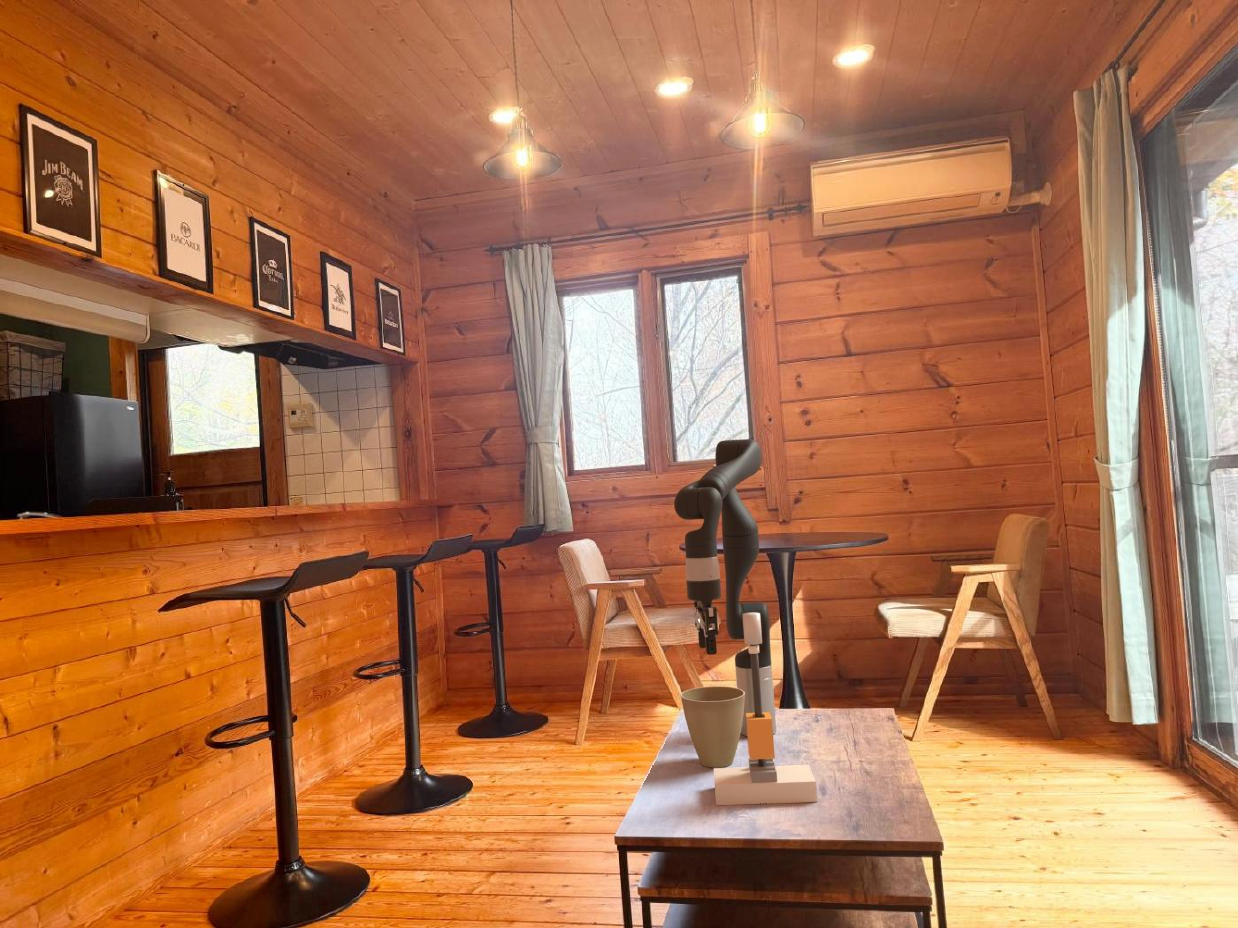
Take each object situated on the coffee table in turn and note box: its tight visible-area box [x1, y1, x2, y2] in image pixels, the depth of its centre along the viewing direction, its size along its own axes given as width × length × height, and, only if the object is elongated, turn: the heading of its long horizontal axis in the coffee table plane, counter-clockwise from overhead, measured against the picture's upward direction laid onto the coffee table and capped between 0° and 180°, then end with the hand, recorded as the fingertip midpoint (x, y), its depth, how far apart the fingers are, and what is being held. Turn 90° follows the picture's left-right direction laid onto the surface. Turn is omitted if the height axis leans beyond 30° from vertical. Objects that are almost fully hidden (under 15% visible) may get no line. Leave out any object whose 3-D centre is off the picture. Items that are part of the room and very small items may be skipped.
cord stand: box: [713, 612, 818, 806], centre depth 173 cm, size 10×20×37 cm, turn 85°
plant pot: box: [680, 685, 745, 768], centre depth 194 cm, size 15×15×16 cm
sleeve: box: [746, 712, 776, 760], centre depth 172 cm, size 5×5×8 cm
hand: (707, 650), depth 185 cm, fingers open, 8 cm apart
